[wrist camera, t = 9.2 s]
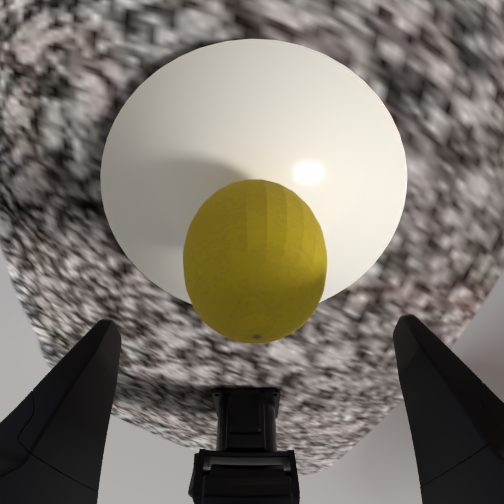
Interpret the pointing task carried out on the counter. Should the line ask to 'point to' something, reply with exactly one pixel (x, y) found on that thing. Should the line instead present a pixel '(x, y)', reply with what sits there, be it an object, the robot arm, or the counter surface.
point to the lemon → (254, 261)
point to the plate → (253, 153)
